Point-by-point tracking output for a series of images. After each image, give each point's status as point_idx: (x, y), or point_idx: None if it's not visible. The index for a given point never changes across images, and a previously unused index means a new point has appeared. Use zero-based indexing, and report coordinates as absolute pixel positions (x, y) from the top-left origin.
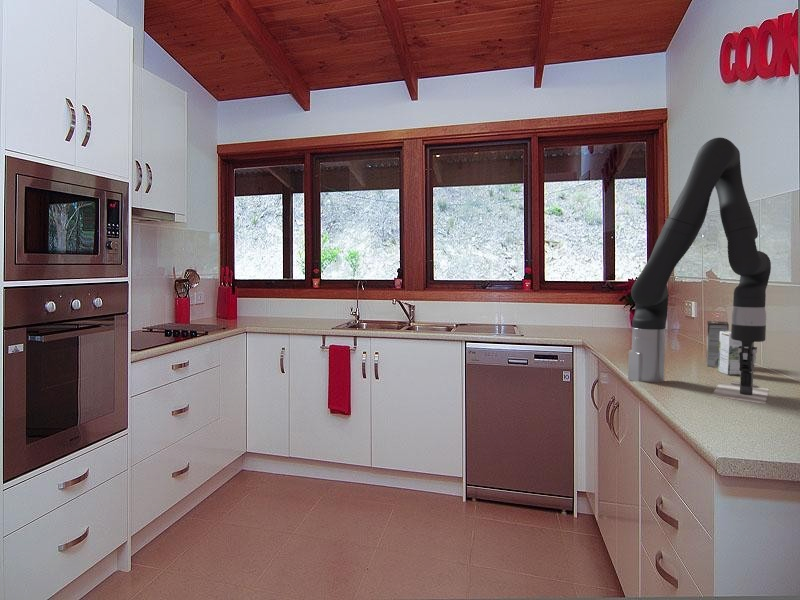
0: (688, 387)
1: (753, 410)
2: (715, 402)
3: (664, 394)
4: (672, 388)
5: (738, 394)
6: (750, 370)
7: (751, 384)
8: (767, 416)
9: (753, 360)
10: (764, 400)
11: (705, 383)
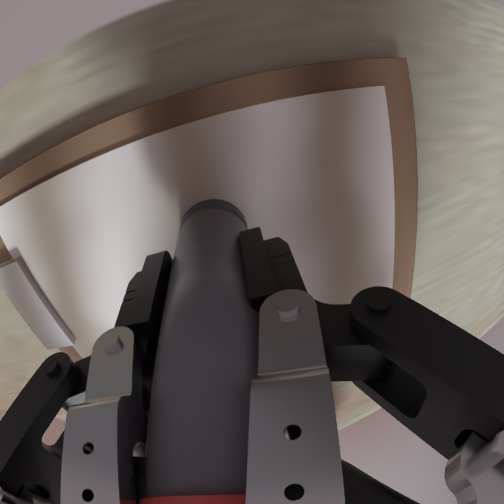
0: None
1: (458, 121)
2: (424, 259)
3: None
4: None
5: None
6: (404, 299)
7: (228, 234)
8: (495, 72)
9: (333, 430)
10: (314, 103)
11: None
